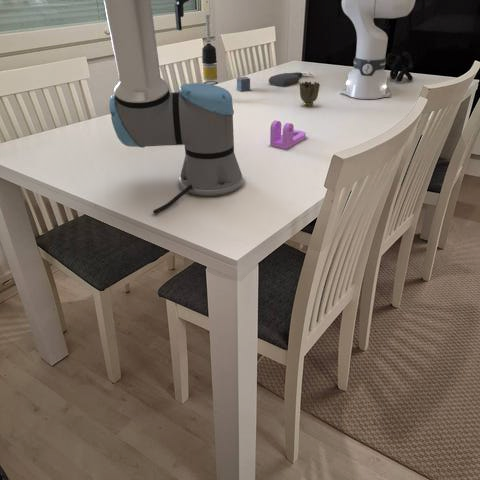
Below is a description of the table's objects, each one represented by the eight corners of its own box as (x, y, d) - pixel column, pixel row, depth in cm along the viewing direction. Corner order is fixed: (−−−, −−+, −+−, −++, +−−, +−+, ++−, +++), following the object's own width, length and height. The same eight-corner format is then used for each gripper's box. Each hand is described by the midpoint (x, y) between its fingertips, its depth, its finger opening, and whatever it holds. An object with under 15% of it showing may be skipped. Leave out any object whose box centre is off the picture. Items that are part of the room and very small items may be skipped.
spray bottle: (266, 83, 198) (296, 74, 214) (286, 87, 192) (316, 77, 208) (266, 76, 197) (297, 68, 213) (287, 80, 191) (316, 71, 207)
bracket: (286, 149, 129) (287, 125, 125) (270, 145, 132) (270, 122, 128) (308, 136, 138) (309, 114, 134) (292, 133, 141) (294, 111, 137)
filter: (220, 99, 177) (217, 15, 161) (206, 100, 176) (202, 16, 160) (215, 96, 182) (212, 14, 166) (202, 97, 180) (197, 14, 164)
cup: (295, 106, 166) (296, 84, 162) (302, 102, 172) (303, 80, 168) (314, 109, 163) (316, 86, 159) (321, 104, 169) (322, 82, 165)
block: (245, 88, 193) (245, 76, 190) (250, 90, 190) (250, 78, 187) (236, 89, 192) (236, 77, 189) (241, 91, 188) (240, 79, 186)
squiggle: (400, 92, 202) (376, 71, 205) (417, 76, 202) (392, 56, 205) (405, 81, 191) (380, 59, 194) (423, 64, 191) (397, 42, 194)
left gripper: (187, -58, 123) (193, 27, 134) (95, -58, 115) (109, 33, 126) (196, -59, 117) (201, 29, 128) (100, -59, 109) (114, 36, 120)
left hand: (156, 31), depth 127 cm, fingers open, 13 cm apart
